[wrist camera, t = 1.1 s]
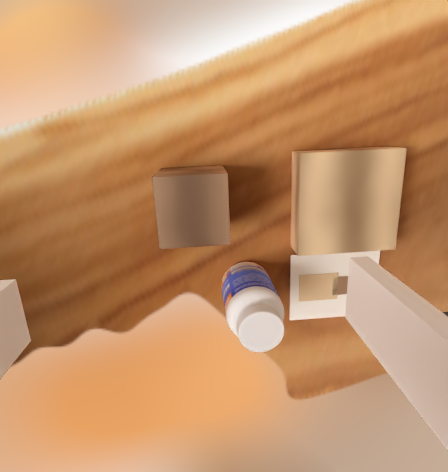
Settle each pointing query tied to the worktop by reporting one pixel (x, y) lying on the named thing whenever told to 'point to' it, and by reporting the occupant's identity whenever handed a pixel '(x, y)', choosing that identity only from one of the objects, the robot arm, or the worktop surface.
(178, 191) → the walnut block
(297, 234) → the oak base slab
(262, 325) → the pill bottle
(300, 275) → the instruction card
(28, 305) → the worktop surface
